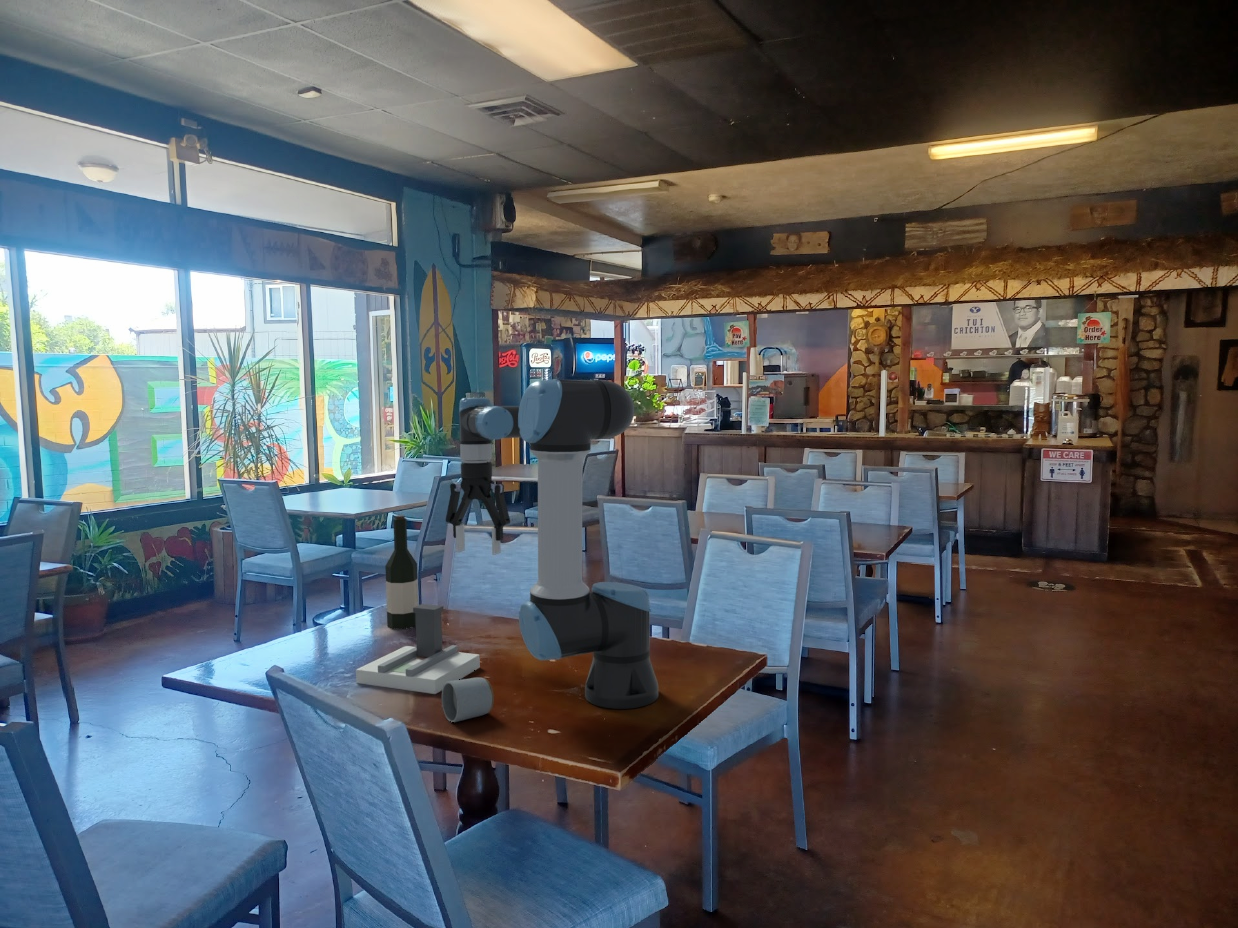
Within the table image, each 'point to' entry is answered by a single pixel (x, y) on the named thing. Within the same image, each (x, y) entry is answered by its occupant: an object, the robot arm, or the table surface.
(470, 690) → the ceramic mug
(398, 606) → the wine bottle
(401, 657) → the plate
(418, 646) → the handle
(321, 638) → the table surface
